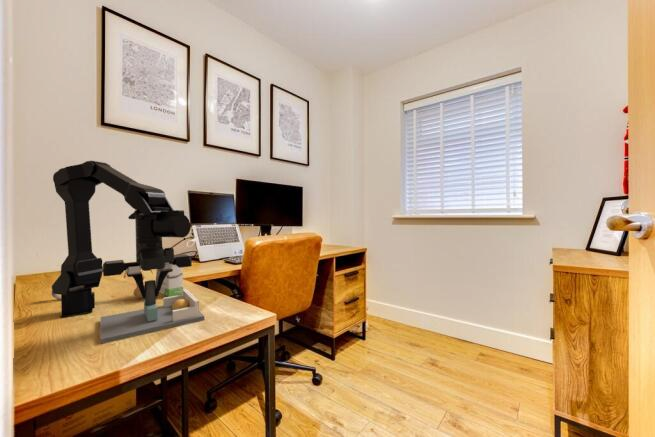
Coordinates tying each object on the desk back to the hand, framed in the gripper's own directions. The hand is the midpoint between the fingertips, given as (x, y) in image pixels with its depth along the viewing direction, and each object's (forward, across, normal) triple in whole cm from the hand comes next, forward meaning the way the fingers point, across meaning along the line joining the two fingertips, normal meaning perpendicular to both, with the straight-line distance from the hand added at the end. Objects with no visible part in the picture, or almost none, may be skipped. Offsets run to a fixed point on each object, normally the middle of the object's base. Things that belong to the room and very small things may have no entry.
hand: (150, 297), depth 72 cm
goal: (+5, +7, 0) cm, 9 cm away
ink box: (+6, +9, +24) cm, 27 cm away
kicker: (+5, 0, 0) cm, 5 cm away
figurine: (+6, 0, +25) cm, 26 cm away
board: (+6, 0, 0) cm, 6 cm away
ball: (+4, +7, 0) cm, 8 cm away
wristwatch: (+6, -19, +38) cm, 43 cm away
